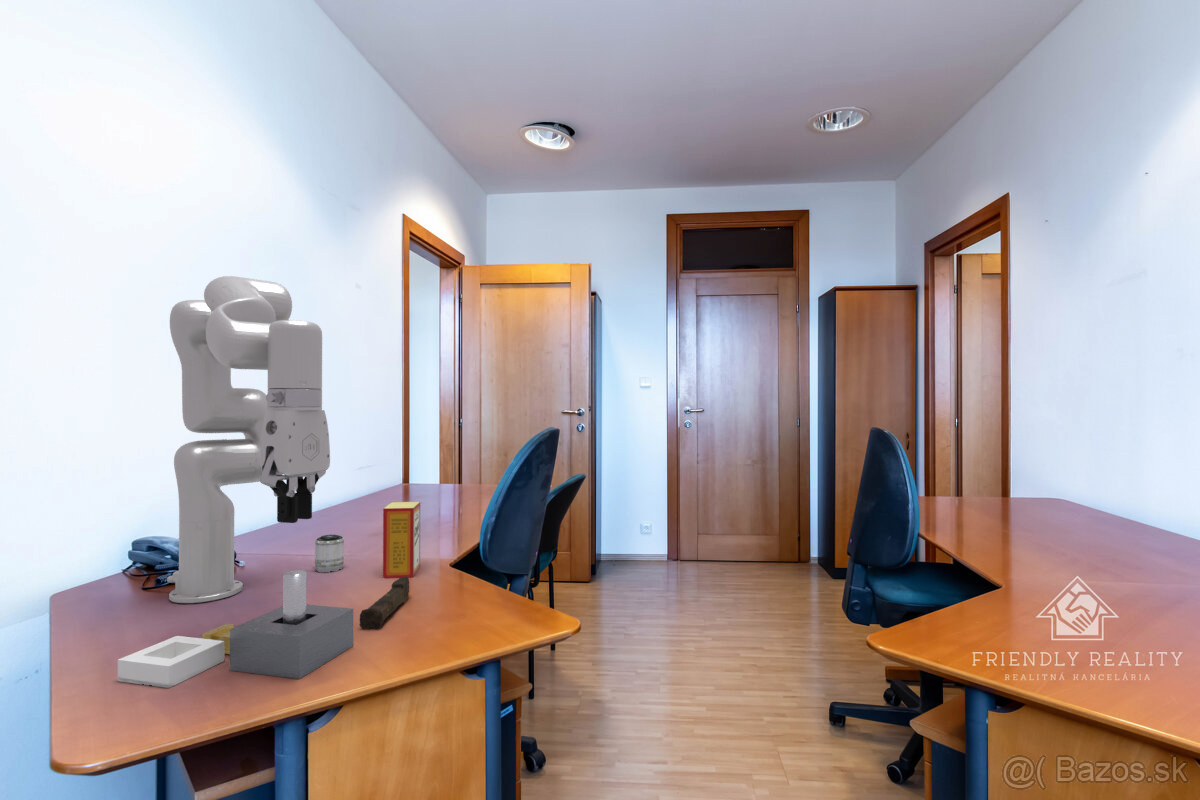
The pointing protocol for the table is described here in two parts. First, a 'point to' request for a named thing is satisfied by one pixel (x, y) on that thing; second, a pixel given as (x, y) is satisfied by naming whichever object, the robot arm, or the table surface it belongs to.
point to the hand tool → (385, 605)
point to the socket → (291, 642)
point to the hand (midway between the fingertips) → (294, 519)
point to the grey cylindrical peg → (294, 597)
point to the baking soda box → (401, 539)
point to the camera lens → (329, 553)
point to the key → (220, 635)
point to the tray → (170, 661)
